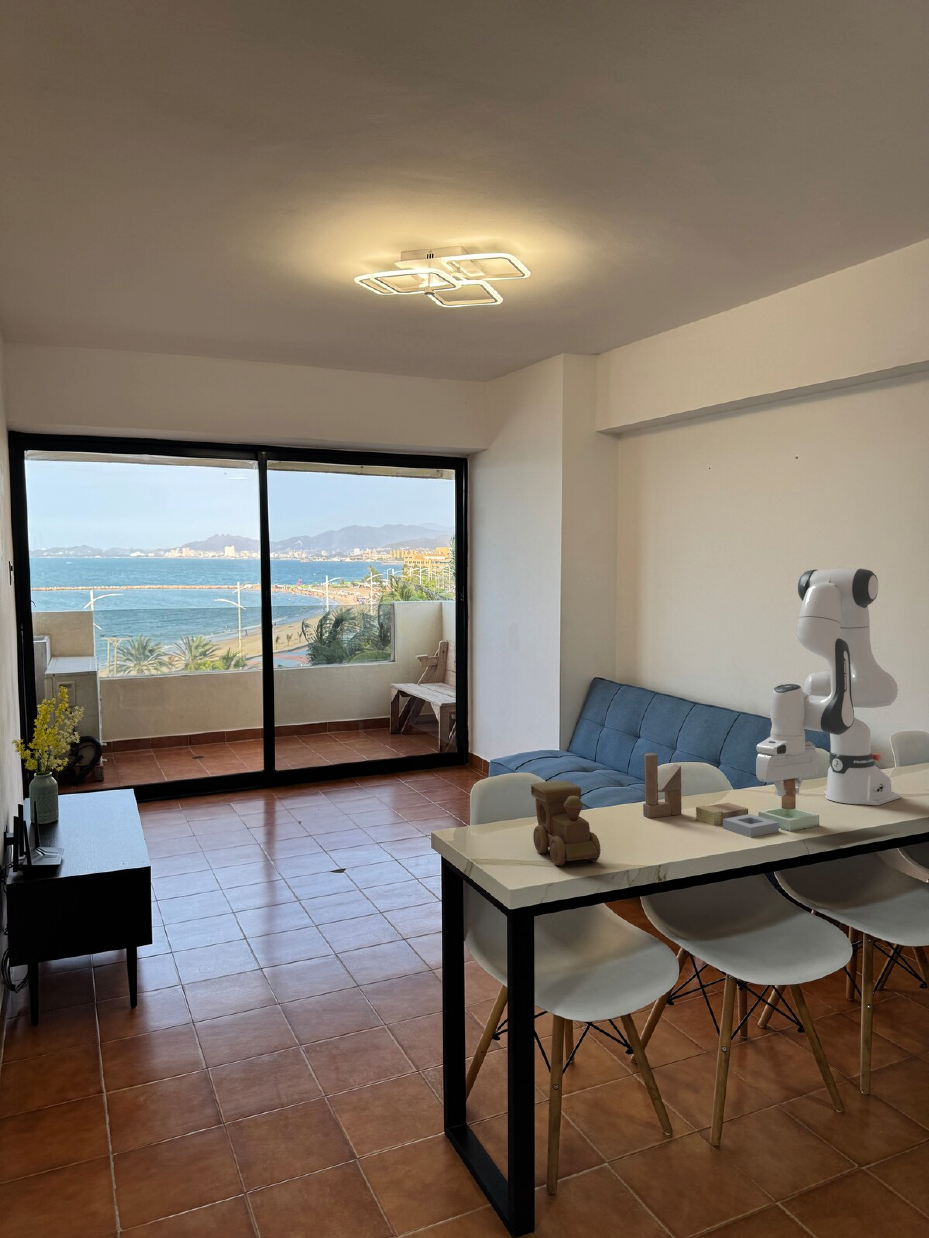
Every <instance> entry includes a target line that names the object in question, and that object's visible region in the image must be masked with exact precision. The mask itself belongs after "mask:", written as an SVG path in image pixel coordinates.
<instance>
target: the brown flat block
mask: <svg viewBox="0 0 929 1238" xmlns="http://www.w3.org/2000/svg"><path fill="white" fill-rule="evenodd" d="M706 806H707V807H710V808H713V809H717V810H720V811H722V824H721V825H723V819H726V818H731V817H737V816H742V815H748V814H749V808H748V807H745V806H741V805H737V804H734V803H731V802H722V803H717V804H712V805H711V804H710V805H706Z"/></svg>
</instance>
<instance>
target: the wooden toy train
mask: <svg viewBox="0 0 929 1238" xmlns="http://www.w3.org/2000/svg"><path fill="white" fill-rule="evenodd" d="M530 795H531V796H532V797H533V798H535V810H536V812H535V813H536V820H537V825H536V826H535V827H534V829H533V834H532V838H533V844H534V847H535V849H536V851H537V852H538V853H539V852H540V853H539V854H542V853H544V854H545V853H547V852H548V850H549V854H550V859H551V860H552V863H554V865H555V866H558V865H559V867H561V866H563V865H565V863H566V861H567V862H571V861H579V860H587V859H588V861H590V862H592V861H595V862H597V861H598V860H599V858H600V856H601V844H600V840H599V838H598V835H596V833H594V832H592V831H591V828H590V822H589V821H587V820H586V819H585V818H583V817H582V816H580V814H581V811H582V809H583V806H584V803H583V802H582V788H581V787H579V786H578V785H576V784H574V783H572V782H570V781H567V780H552V781H543V782H536V783H530Z"/></svg>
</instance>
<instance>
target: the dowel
mask: <svg viewBox="0 0 929 1238" xmlns="http://www.w3.org/2000/svg"><path fill="white" fill-rule="evenodd" d="M782 786H783V788H784V789H785V790H786V796H780V798H781V807H782V808H783V809H790V810H791V809H797V808H796V807H797V806H796V805H797V803H796V801H797V800H796V798H797V797H796V795H797V794H796V793H795V778H794V779H787V780H783V784H782Z"/></svg>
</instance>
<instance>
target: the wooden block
mask: <svg viewBox="0 0 929 1238" xmlns="http://www.w3.org/2000/svg"><path fill="white" fill-rule="evenodd" d="M658 769H659V768H658V754H657V753H653V752H647V753H645V754H644V781H645V782H644V786H645V787H644V791H645V792H644V793H645V795H644V796H645V803H643V804H642V808H643V809H642V811H643V812H642V815H643V816H644V817H646V818H648V819H653V818H654V819H655V818H663V817H672V816H671V815H674V816H680V814H681V815H682V765H679V764H676V763H673V765H672V766H671V767H670V769H669V770H668V771H667V772H666V774H665V775H664V776H663V778H661V780H660V781H659V776H658V775H659V774H658V773H659V771H658ZM659 793H664V801H659Z"/></svg>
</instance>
